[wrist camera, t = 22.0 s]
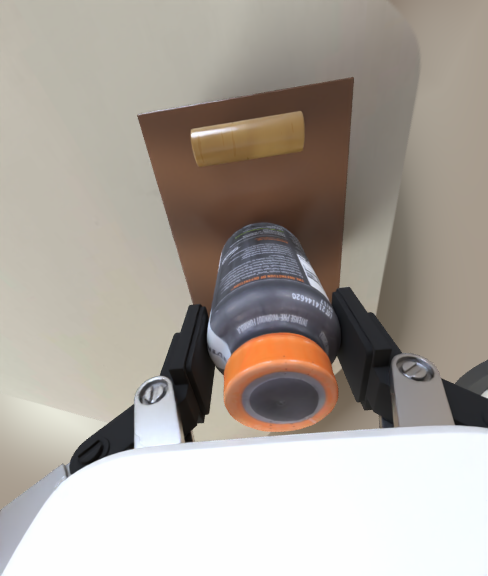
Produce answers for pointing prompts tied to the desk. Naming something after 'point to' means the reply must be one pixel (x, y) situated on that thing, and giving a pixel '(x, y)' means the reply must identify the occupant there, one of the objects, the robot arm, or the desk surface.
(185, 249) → the lid
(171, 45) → the desk surface
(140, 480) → the robot arm
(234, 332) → the pill bottle
